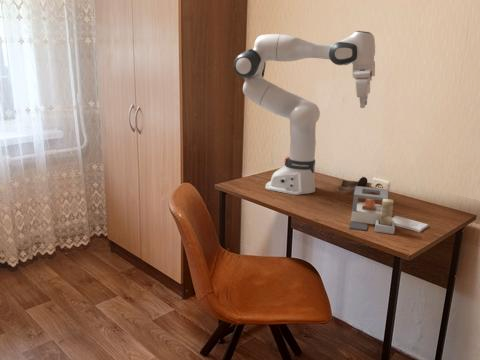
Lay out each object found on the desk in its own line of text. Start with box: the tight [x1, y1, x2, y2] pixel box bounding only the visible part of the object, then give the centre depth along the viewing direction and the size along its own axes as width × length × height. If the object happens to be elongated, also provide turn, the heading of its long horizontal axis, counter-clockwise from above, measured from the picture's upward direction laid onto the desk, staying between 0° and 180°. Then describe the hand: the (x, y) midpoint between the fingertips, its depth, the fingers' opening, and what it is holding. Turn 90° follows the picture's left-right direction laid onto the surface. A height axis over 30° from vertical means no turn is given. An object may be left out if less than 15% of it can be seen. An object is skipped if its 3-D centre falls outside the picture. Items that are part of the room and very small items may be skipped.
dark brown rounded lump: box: [347, 176, 368, 189], centre depth 212 cm, size 8×8×7 cm
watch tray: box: [337, 179, 372, 196], centre depth 213 cm, size 14×14×2 cm
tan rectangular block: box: [380, 198, 394, 226], centre depth 166 cm, size 4×4×11 cm
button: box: [364, 198, 376, 210], centre depth 176 cm, size 4×4×4 cm
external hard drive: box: [391, 215, 429, 233], centre depth 173 cm, size 2×8×12 cm
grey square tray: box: [374, 219, 396, 235], centre depth 167 cm, size 6×6×2 cm
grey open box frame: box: [350, 186, 389, 225], centre depth 176 cm, size 12×12×10 cm
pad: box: [349, 221, 368, 232], centre depth 168 cm, size 6×6×1 cm
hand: (363, 106), depth 194 cm, fingers open, 8 cm apart
